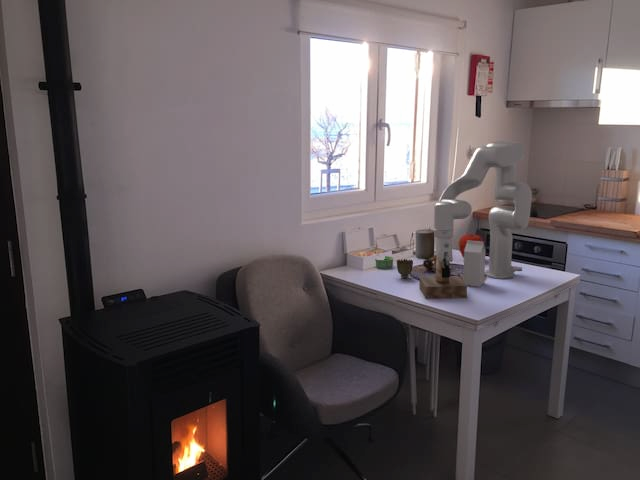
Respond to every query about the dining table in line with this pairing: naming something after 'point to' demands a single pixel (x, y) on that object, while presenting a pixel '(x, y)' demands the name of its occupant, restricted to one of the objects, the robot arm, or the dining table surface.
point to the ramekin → (385, 262)
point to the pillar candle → (424, 243)
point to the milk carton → (474, 263)
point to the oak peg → (440, 273)
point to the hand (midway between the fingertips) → (443, 273)
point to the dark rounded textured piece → (404, 267)
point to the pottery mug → (429, 262)
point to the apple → (464, 241)
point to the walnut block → (443, 288)
